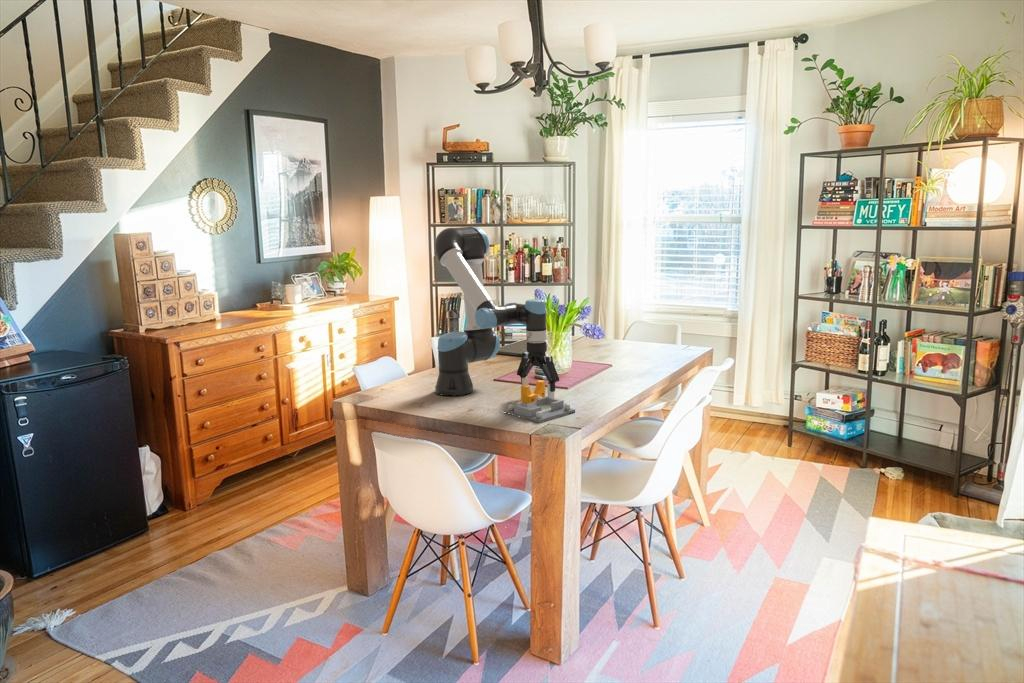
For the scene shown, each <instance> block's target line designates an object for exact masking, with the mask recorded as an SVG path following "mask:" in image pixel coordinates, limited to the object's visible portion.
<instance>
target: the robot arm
mask: <svg viewBox="0 0 1024 683" xmlns="http://www.w3.org/2000/svg"><path fill="white" fill-rule="evenodd" d="M489 249H490V240H489V237H488V235H487V233H486V232H485V231H484V230H483V229H482V228H481V227H478V226H477V227H476V226H475V227H474V226H465V227H464V226H463V227H447V228H445V229H443V230H441V231H440V232H439V233H438V234H437V236H436V238H435V241H434V253H435V256H436V259H437V260H438V261H439V264H440V266H443V267H445V268H446V269H447V270H448V272H449V273H450V275H451V276H452V278H453V279H454V281H455V282H456V284H457V285H458V287H459V288H460V290H461V291H462V293H463V294H462V295H463V302H464V311H465V312H464V313H465V319H466V320H465V321H466V326H465V327H464V328H463V331H452V332H447V333H443V334H442V335H440V336H439V337H438V339H437V354H438V355H437V356H438V376H437V379H436V384H435V387H434V388H435V389H434V391H435V392H436V393H438V394H442V395H452V396H451V397H457V396H456V395H461V396H466V395H465V394H467V395H469V393H470V394H472V393H473V392H474V385H473V384H474V383H473V382H472V378H471V376H470V372H469V364H470V363H471V364H473V363H477V362H482V361H487V360H490V359H493V358H494V357H496V355H497V354H498V353H499V351H500V346H501V345H500V344H501V341H500V338H499V335H498V333H497V332H496V331H494V330H493V328H497V327H498V328H499V327H505V326H509V325H510V326H511V325H516V324H517V325H518V324H519V325H525V333H526V334H525V335H526V336H525V337H526V341H527V342H526V351H524V352H521V359H520V362H519V365H518V369H517V371H516V375H517V376H519V377H520V381H521V382H520V384H521V386H530V384H529V373H531V372H530V371H531V370H532V368H533V367H537V368H539V369H540V370H542V372H543V374H544V376H545V378H546V379H547V381H548V382H547V384H546V385H547V397H551V398H555V392H556V383H558V382H560V377H559V375H558V372H557V370H556V366H555V364H554V359H553V358H554V357H553V355H546V353H547V351H548V343H547V340H548V339H547V308H546V307H547V306H546V301H545V300H544V299H538V298H537V299H535V298H534V299H528V300H527V299H526V300H525V303H516V302H508V303H505V304H504V305H497V304H496V303H495V302H494V300H493V299H492V297H491V296H490V294H489V293H488V291H487V290H486V288H485V286H484V285H485V283H484V275H483V267H482V266H483V265H482V264H483V262H484V261H485V260H486V258H485V255H486V254H487V253H488V252H489ZM435 392H434V393H435ZM471 392H472V393H471ZM436 393H435V394H436ZM438 394H437V395H438ZM442 395H441V396H442Z"/></svg>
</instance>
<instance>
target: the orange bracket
mask: <svg viewBox="0 0 1024 683" xmlns="http://www.w3.org/2000/svg"><path fill="white" fill-rule="evenodd" d="M537 397H542V398H544V397H546V380H543V379H542V380H541V379H539V380H537V381H536V384H535V388H534V390H533V391H532V392H531V388H530V385H529V386H522V385H521V386H520V403H521V402H522V403H527V404H528V403H532V402H536V401H537Z"/></svg>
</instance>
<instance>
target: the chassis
mask: <svg viewBox="0 0 1024 683" xmlns="http://www.w3.org/2000/svg"><path fill="white" fill-rule="evenodd" d="M507 407H508V408H507V409H504V410H503V411H502V412H506V413H510V414H513V415H516V416H520V417H523V418H525V419H524V420H526V419H529V420H528V421H530V420H532V421H531V422H534V421H535V422H534V423H537V422H538V424H540V422H541V423H543V421H544V422H547V420H548V421H550V419H551V420H554V419H557V418H556V417H558V418H560V416H561V417H564V416H567V415H566V414H568V415H570V414H569V413H571V414H573V413H572V412H574V413H576V409H574V408H571V404H570V403H569V402H568V403H565V402H564V400H563V399H559V398H556V397H554V398H551V397H548V396H545V397H544V398H542V397H537V401H536V402H532V403H528V404H527V403H521V402H520V403H518V404H514V403H510V404H509V403H508V405H507ZM563 415H564V416H563ZM516 416H515V417H516ZM523 418H522V419H523ZM553 418H554V419H553Z"/></svg>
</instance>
